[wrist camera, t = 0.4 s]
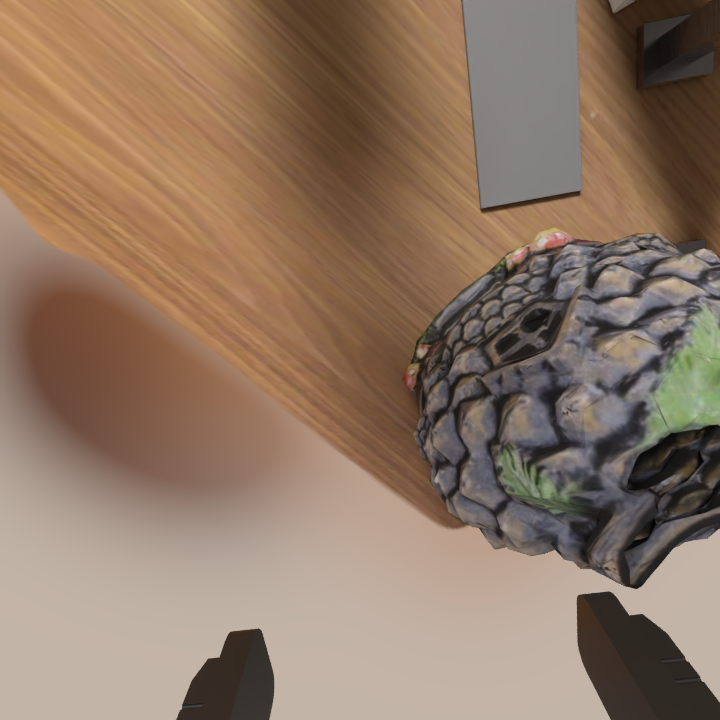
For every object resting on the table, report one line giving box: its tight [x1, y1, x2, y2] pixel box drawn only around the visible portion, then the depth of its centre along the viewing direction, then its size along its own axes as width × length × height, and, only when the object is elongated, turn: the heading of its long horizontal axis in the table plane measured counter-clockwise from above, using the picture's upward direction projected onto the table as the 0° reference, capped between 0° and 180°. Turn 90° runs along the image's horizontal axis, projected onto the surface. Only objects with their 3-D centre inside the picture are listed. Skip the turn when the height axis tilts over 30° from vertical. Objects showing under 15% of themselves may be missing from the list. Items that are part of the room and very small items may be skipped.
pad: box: [461, 0, 582, 209], centre depth 32 cm, size 15×8×1 cm, turn 10°
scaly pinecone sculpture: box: [402, 227, 720, 589], centre depth 25 cm, size 21×15×25 cm
